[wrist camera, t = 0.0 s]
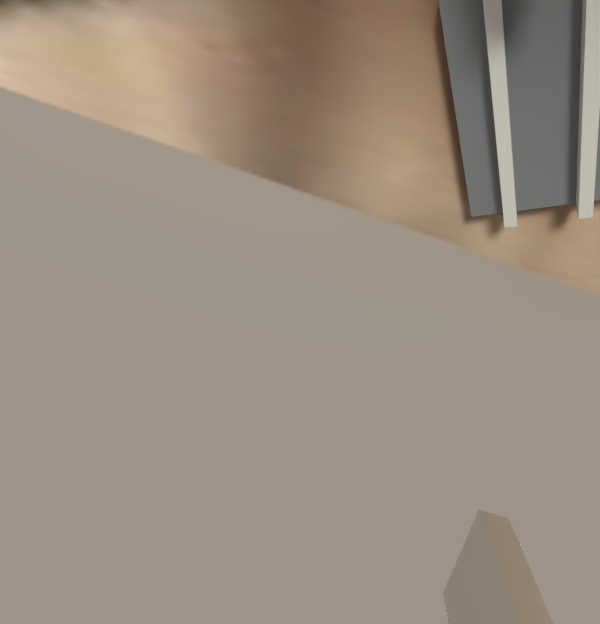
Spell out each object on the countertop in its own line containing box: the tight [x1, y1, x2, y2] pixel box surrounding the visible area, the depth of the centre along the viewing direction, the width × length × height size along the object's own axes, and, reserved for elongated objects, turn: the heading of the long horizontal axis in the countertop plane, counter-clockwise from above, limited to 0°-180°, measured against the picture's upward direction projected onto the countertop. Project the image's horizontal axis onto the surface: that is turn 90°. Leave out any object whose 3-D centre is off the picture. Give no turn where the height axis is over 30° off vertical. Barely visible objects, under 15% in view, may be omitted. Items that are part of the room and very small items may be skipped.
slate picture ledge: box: [438, 0, 600, 228], centre depth 35 cm, size 18×12×5 cm, turn 21°
